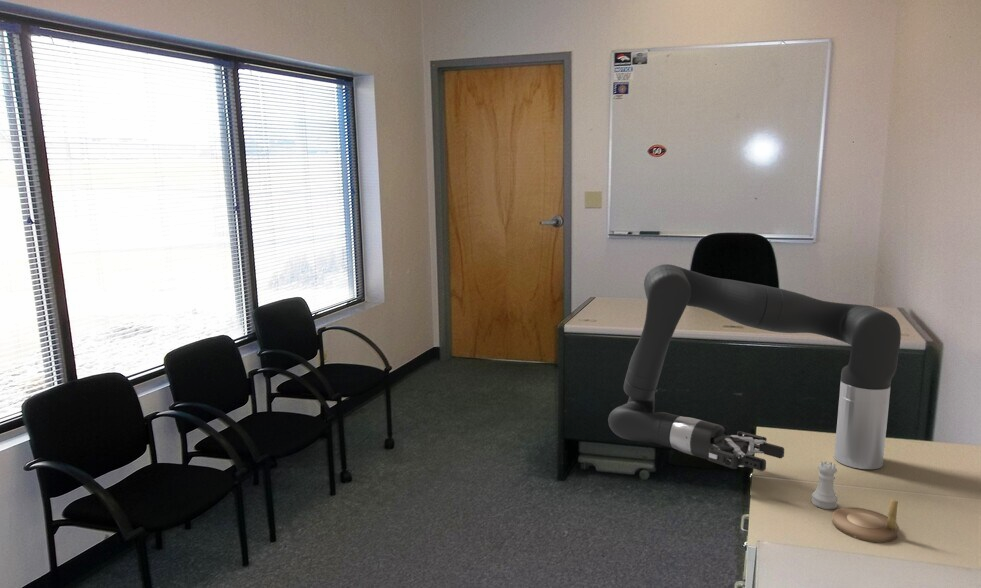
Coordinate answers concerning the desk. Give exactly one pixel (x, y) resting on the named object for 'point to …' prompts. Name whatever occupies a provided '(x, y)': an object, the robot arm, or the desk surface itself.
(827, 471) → the rook chess piece
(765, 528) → the desk surface
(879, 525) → the handwheel with crank handle
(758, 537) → the desk surface
